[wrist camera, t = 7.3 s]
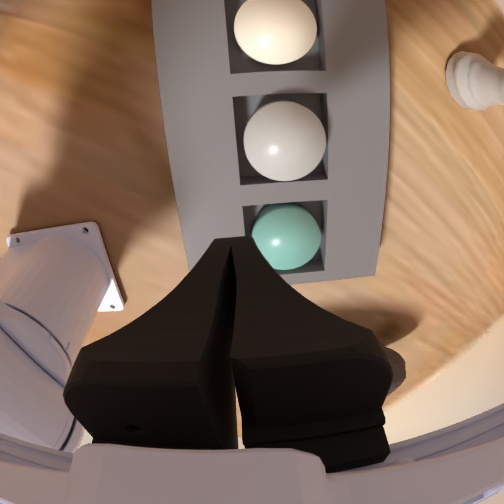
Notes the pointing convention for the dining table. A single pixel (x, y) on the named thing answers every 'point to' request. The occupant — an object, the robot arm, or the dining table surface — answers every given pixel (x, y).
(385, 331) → the dining table surface
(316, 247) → the teal button
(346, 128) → the button board
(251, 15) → the cream button
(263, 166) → the grey button
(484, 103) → the rook chess piece
